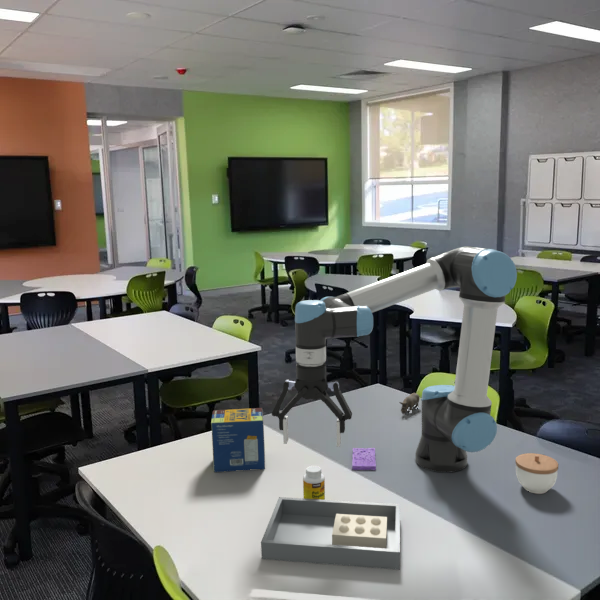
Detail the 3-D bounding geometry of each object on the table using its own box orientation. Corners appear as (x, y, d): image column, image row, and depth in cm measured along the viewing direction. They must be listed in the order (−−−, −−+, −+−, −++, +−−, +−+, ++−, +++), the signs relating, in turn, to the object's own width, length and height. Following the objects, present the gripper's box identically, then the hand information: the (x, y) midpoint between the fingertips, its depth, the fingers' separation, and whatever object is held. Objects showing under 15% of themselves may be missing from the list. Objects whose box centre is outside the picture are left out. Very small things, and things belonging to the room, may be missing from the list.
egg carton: (387, 530, 142) (387, 512, 141) (386, 553, 133) (386, 534, 132) (336, 527, 144) (336, 509, 143) (332, 549, 135) (331, 530, 134)
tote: (400, 523, 147) (400, 504, 146) (399, 573, 127) (399, 552, 127) (279, 515, 152) (279, 497, 151) (261, 562, 132) (260, 542, 132)
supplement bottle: (311, 513, 153) (310, 475, 151) (299, 504, 157) (298, 467, 155) (329, 506, 156) (328, 469, 154) (317, 497, 160) (316, 461, 158)
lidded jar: (559, 483, 164) (560, 451, 163) (554, 501, 155) (556, 467, 153) (517, 476, 169) (519, 444, 168) (511, 493, 160) (512, 460, 158)
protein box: (215, 457, 187) (212, 410, 184) (264, 454, 188) (262, 407, 185) (213, 472, 176) (210, 422, 174) (265, 469, 178) (263, 419, 175)
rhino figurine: (395, 416, 217) (395, 400, 216) (411, 405, 228) (411, 390, 227) (405, 418, 214) (405, 402, 213) (421, 407, 225) (422, 391, 224)
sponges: (375, 453, 188) (375, 447, 187) (376, 471, 175) (376, 465, 175) (352, 453, 188) (352, 447, 188) (352, 471, 176) (351, 465, 176)
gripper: (258, 365, 148) (261, 446, 152) (360, 368, 144) (360, 451, 148) (265, 357, 155) (267, 434, 159) (362, 360, 151) (362, 439, 155)
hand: (312, 443), depth 153 cm, fingers open, 13 cm apart
